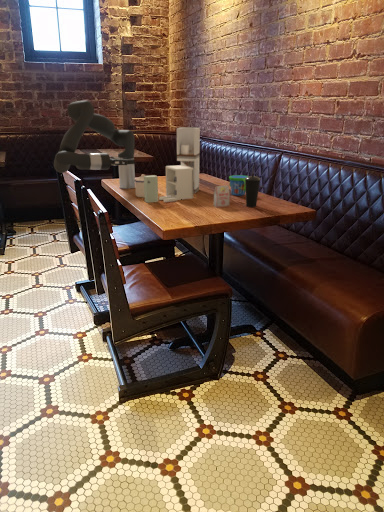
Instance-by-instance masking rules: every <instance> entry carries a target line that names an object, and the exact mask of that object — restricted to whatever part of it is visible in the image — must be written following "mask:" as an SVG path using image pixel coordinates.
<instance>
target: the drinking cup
mask: <svg viewBox="0 0 384 512" xmlns="http://www.w3.org/2000/svg"><path fill="white" fill-rule="evenodd" d="M251 170H252V171H251V175H250V176H248V177H247V178H245V186H246V191H245V204H246V207H247V208H256V207H257V202H258V196H259V189H260V182H261V178H260V177H258V176H255V175H254V174H255V173H254V172H255V165H252V169H251Z"/></svg>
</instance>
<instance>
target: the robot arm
mask: <svg viewBox="0 0 384 512" xmlns="http://www.w3.org/2000/svg"><path fill="white" fill-rule="evenodd" d="M67 114H68V116H69V118H70V119H71V120H72V121H74V124H73V125H71V127H69V129H67V131H65V134H64V135H63V137H62V140H61V143H60V145H59V150H58V152H57V153H56V154H55V156H54V161H53V168H54V170H55V171H56V172H57V173H60V174H63V173H67V171H69V169H70V167H71V166H75V167H76V169H78V170H95V171H97V170H99V171H101V170H110V169H111V166H113V167H114V166H115V167H116V166H118V177H119V179H118V180H119V188H120V189H127V190H128V189H134V188H135V189H136V187H135V179H136V176H135V173H136V172H135V161H136V160H135V156H134V155H135V134H134V132H133V131H132V130H129V129H118V128H116V126H115V123H114V122H113V121H112V120H111V119H110V118H108V117H107V116H105V115H102V114H99V113H95V108H94V106H93V103H92V102H91V101H90V100H78V101H72V102H71V103H69V104H68V106H67ZM87 128H89V129H91V130H92V131H94V132H96V133H98V134H99V135H101V136H102V137H105V138H107V139H108V140H110V141H111V142H112V143H114V144H115V145H116V146H118V147H124V150H123V151H121V152H119V153H118V154H117V156H110V154H109V153H108V152H93V153H92V152H91V153H78V152H76V150H77V148H78V146H79V143H80V140H81V138H82V137H83V135H84V133H85V131H86V130H87Z"/></svg>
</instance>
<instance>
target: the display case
mask: <svg viewBox="0 0 384 512" xmlns="http://www.w3.org/2000/svg"><path fill="white" fill-rule="evenodd" d="M200 130H201V127H177V128H176V161H177V162H180V165H184V166H188V167H191V168H193V194H197V192H198V191H199V190H200V148H201V145H200V144H201V143H200V142H201V138H200V137H201V134H200V133H201V131H200Z"/></svg>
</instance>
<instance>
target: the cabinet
mask: <svg viewBox="0 0 384 512" xmlns="http://www.w3.org/2000/svg"><path fill="white" fill-rule="evenodd" d="M181 199H182V200H191V199H194V193H193V168H191V167H188V166H184V165H181V164H179V165H166V166H165V196H158V201H162V200H163V203H169V202H170V203H171V202H177V201H178V200H179V201H180V200H181Z"/></svg>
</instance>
